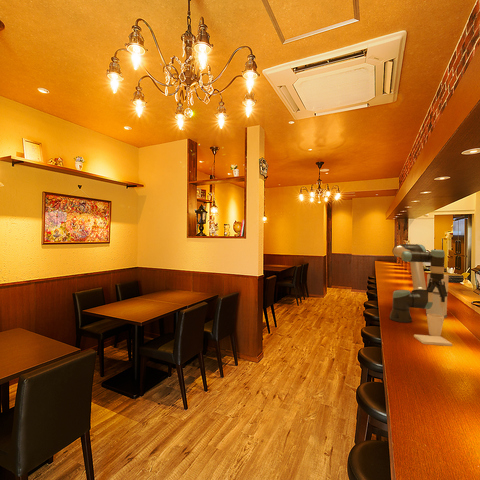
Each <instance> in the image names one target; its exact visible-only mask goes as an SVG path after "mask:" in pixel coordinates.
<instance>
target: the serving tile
mask: <svg viewBox="0 0 480 480" xmlns="http://www.w3.org/2000/svg"><path fill="white" fill-rule="evenodd" d="M413 338H415V339H416V340H418V342H420V343H422V344H424V345H430V346H431V345H433V346H434V345H435V346H445V347H453V343H452V342H451V341H448V340H447V339H446V338H444V337H443V336H441V335H440V336H432V335H428V334H426V335H425V334H413Z"/></svg>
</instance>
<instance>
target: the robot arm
mask: <svg viewBox="0 0 480 480" xmlns="http://www.w3.org/2000/svg"><path fill="white" fill-rule="evenodd" d="M392 255H394V256H395V257H397V258H400V259H401V261H403V262H407V263H409V264H410V273H411V281H412V282H411V283H412V290H411V291H410V290H408V289H397V290H394V291H393V292H392V309H391V311H390V313H389V319H390V320H392V321H393V322H398V323H405V324H407V323H412V321H413V317H412V315H411V312H410V310H411V308H412V309H423V310H426V309H430V308H431V307H432V304H433V293H432V292H433V290H434V289H435V287H436V288H438V291H439V294H440V296H439V297H440V298H439V307H445V297H447V298H448V296H447V292H446V288H445V282H444V281H441V280H442V279H444V275H445V257H446V253H445V250H444V249H431V250H430V251H427V249H426V246H424V245H423V244H418V243H416V244H415V243H414V244H413V243H399V244H397V245H395V246H394V247H393V248H392ZM424 263H430V265H429V266H430V267H429V269H430V270H429V271H430V273H429V274H430V278H432V279H429V283H428V286H427V283H426V278H425V270H424V269H425V268H424Z"/></svg>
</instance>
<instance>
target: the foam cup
mask: <svg viewBox="0 0 480 480" xmlns="http://www.w3.org/2000/svg"><path fill="white" fill-rule="evenodd" d="M426 321H427V327H428V328H427V329H428V334H429V336H441V335H442V330H443V324H444V321H445V318H444V316H441V315H437V314H427V316H426Z"/></svg>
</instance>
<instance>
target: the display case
mask: <svg viewBox="0 0 480 480" xmlns="http://www.w3.org/2000/svg"><path fill="white" fill-rule="evenodd" d="M426 276H427V277H426V287H427V286H428V283H429V279H432V278H430V273H427V275H426ZM441 281H444V282H445V288H446V292H447V297H445V307H439V298H440V297H439V296H440V294H439V291H438V288H436V287H435V289H434V290H433V292H432V293H433V304H432V307H431V308H430V309H425V316H426V317H427V314H437V315H441V316H444V319H446V318H447V317H448V314H447V313H448V312H447V311H448V309H447V308H448V296H449V274H444V279H442V280H441Z"/></svg>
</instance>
